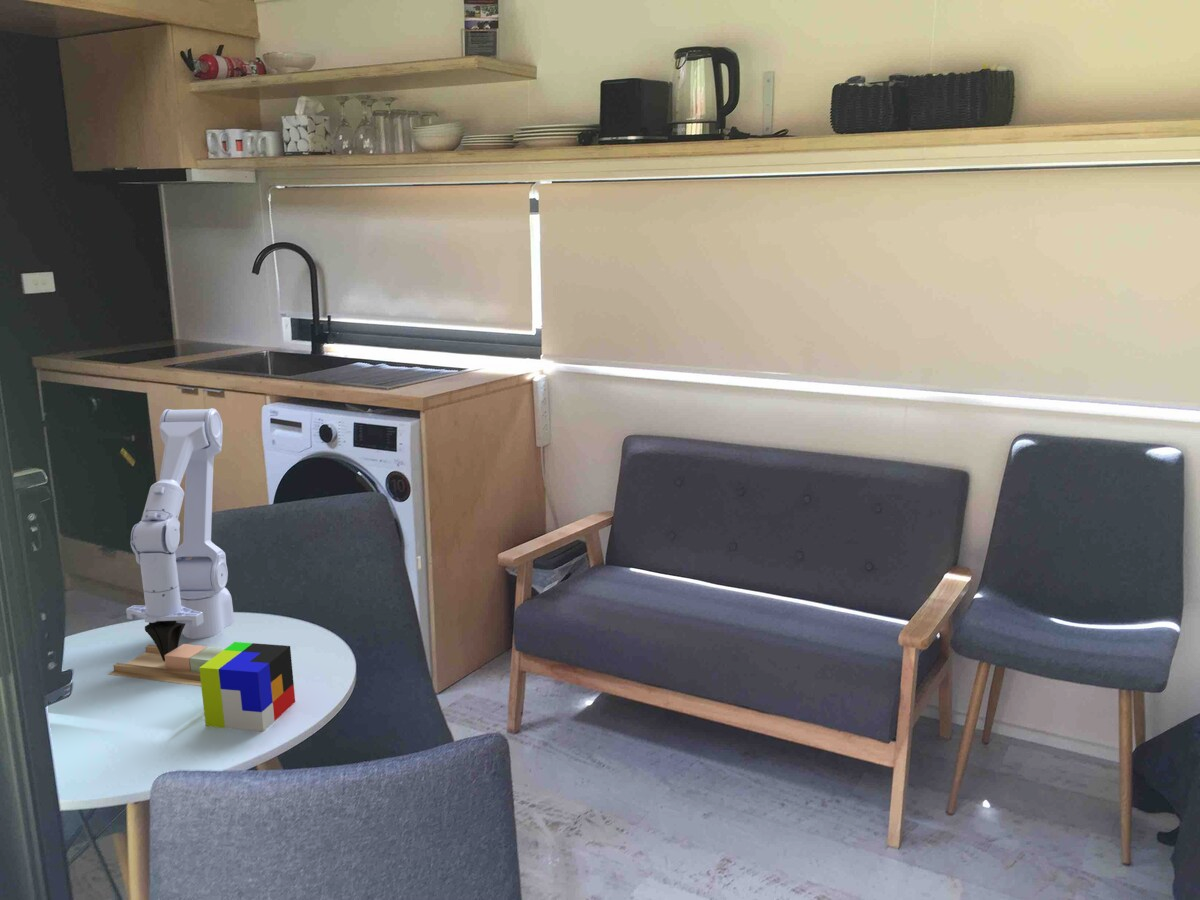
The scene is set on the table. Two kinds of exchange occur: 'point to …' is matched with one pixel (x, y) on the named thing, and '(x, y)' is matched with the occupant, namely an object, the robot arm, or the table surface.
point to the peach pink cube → (182, 657)
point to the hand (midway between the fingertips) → (169, 659)
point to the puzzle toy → (247, 686)
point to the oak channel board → (164, 667)
